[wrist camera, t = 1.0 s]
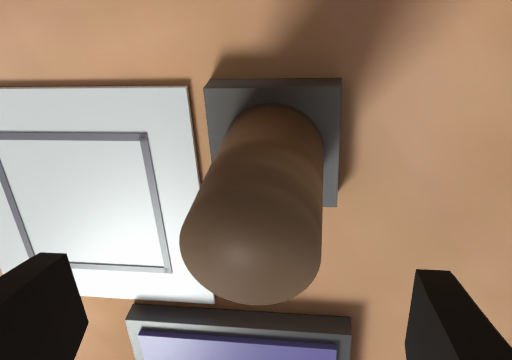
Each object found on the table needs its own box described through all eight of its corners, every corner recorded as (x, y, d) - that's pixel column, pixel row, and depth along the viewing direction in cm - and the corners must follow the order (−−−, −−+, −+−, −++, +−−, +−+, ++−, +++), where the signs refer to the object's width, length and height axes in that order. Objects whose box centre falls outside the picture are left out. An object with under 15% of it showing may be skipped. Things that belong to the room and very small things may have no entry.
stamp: (340, 77, 15) (347, 173, 10) (336, 192, 17) (339, 324, 12) (210, 78, 16) (144, 169, 10) (221, 189, 18) (173, 314, 12)
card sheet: (187, 85, 16) (185, 87, 16) (215, 300, 21) (214, 305, 21) (-70, 87, 17) (-76, 89, 17) (12, 288, 22) (9, 292, 22)
